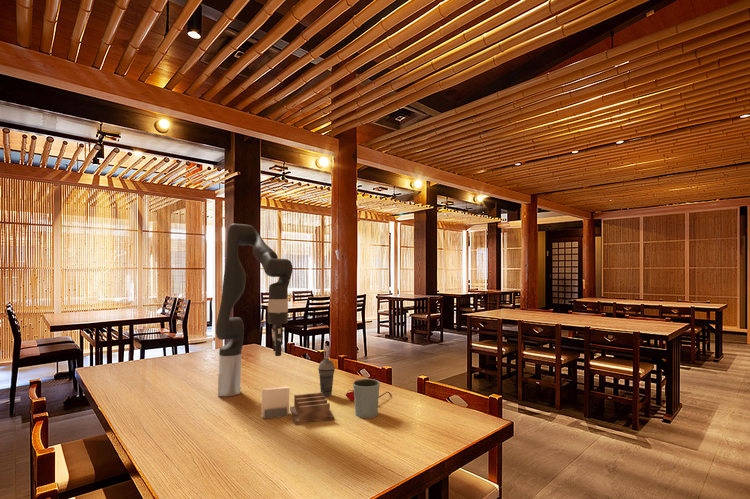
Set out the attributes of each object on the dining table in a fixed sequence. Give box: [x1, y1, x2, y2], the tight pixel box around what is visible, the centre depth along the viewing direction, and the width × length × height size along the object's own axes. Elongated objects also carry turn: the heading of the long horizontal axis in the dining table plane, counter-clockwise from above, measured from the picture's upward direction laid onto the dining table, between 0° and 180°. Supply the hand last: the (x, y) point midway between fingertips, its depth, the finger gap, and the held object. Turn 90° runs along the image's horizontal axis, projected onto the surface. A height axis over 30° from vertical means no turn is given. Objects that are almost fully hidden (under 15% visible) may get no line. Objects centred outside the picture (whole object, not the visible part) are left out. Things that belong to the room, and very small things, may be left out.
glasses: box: [345, 389, 392, 402], centre depth 168 cm, size 14×16×5 cm
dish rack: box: [289, 391, 335, 426], centre depth 148 cm, size 14×15×6 cm
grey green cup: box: [352, 378, 381, 419], centre depth 149 cm, size 10×10×12 cm
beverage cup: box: [317, 348, 336, 398], centre depth 170 cm, size 7×7×20 cm
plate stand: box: [263, 407, 288, 420], centre depth 147 cm, size 8×5×3 cm
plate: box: [260, 385, 290, 419], centre depth 147 cm, size 10×2×10 cm, turn 109°
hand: (277, 353), depth 148 cm, fingers open, 8 cm apart
